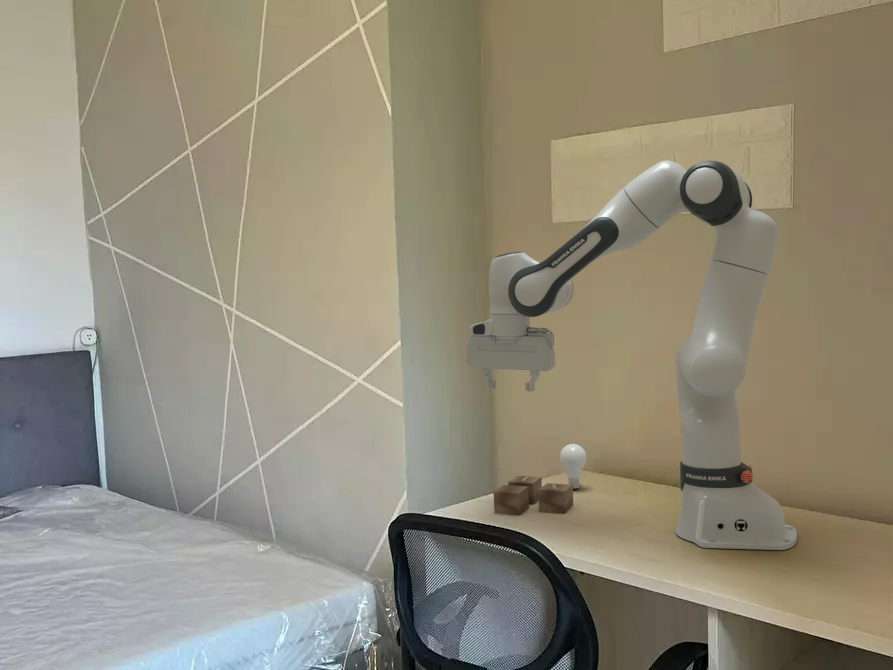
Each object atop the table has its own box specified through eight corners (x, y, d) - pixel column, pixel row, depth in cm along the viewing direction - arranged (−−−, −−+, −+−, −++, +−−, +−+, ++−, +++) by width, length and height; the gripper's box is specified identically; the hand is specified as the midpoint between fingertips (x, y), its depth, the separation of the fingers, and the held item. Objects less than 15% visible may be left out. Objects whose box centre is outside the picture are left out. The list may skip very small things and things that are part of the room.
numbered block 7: (573, 506, 198) (572, 484, 198) (565, 514, 193) (564, 490, 192) (547, 504, 201) (546, 482, 200) (539, 511, 195) (538, 489, 195)
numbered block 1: (542, 498, 206) (541, 476, 206) (533, 504, 201) (532, 482, 201) (518, 496, 209) (517, 475, 209) (509, 503, 204) (508, 481, 203)
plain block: (529, 508, 198) (528, 486, 198) (519, 515, 193) (518, 493, 192) (504, 506, 201) (503, 485, 200) (494, 513, 195) (493, 491, 195)
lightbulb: (556, 487, 214) (554, 443, 214) (580, 484, 216) (578, 440, 215) (567, 493, 208) (566, 447, 208) (592, 490, 210) (590, 445, 209)
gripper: (559, 326, 191) (560, 390, 192) (475, 324, 201) (476, 385, 202) (548, 328, 185) (548, 394, 186) (462, 327, 195) (463, 389, 196)
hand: (510, 389), depth 194 cm, fingers open, 8 cm apart
